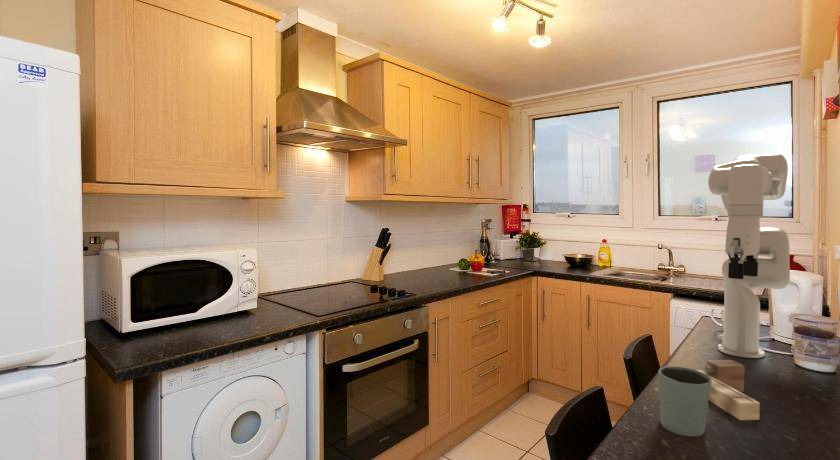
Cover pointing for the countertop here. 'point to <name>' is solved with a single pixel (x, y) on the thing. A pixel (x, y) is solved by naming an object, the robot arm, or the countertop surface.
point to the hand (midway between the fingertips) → (743, 277)
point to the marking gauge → (727, 372)
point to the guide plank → (733, 400)
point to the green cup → (683, 400)
